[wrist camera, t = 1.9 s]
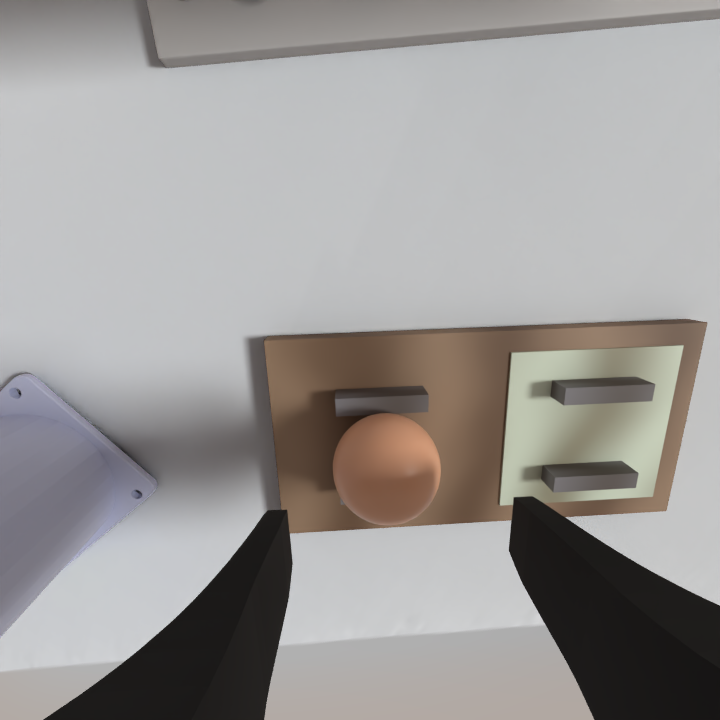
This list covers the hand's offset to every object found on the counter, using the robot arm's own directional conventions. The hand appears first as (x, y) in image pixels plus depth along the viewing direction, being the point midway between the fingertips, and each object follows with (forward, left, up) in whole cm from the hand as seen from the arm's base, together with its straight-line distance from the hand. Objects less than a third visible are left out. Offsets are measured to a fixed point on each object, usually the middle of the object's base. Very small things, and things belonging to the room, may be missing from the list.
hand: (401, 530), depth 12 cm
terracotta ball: (0, 0, -4) cm, 4 cm away
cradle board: (+4, -3, -7) cm, 9 cm away
